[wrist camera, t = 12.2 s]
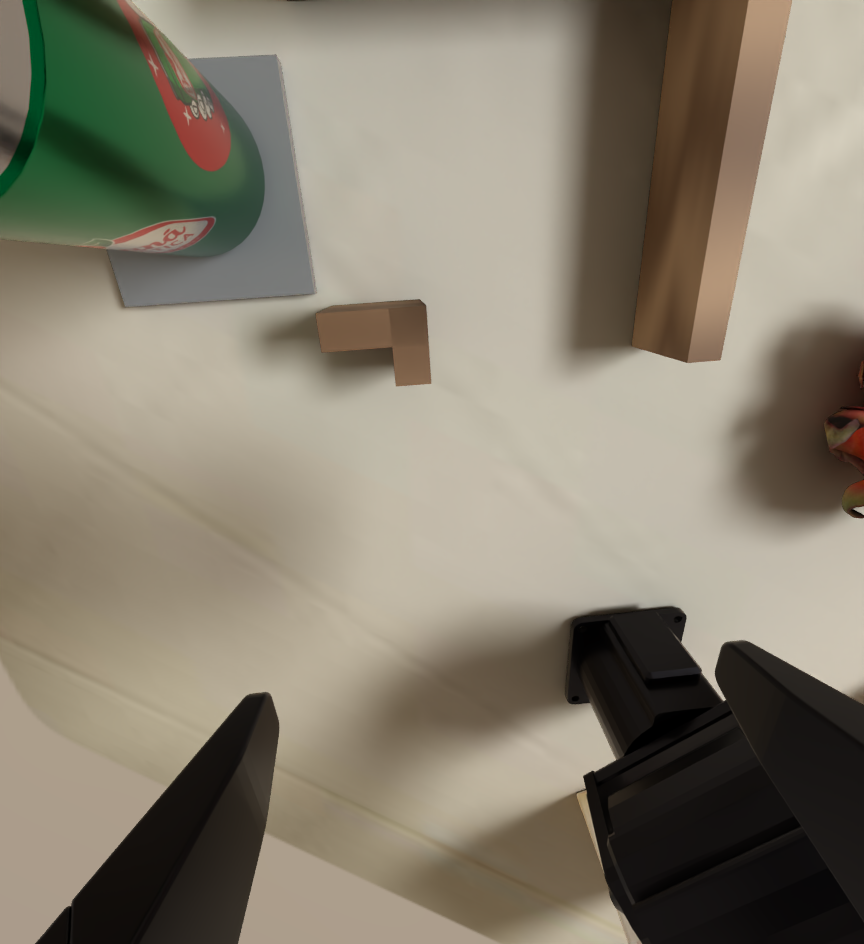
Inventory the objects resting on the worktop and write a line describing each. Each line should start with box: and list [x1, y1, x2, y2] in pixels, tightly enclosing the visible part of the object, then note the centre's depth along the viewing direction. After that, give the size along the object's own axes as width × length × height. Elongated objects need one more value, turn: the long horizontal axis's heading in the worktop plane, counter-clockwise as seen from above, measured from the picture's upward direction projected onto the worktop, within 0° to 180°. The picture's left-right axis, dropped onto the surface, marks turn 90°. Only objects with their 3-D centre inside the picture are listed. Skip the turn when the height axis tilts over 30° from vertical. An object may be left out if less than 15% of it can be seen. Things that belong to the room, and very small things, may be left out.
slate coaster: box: [107, 55, 317, 307], centre depth 16 cm, size 7×7×1 cm
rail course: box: [287, 0, 792, 386], centre depth 15 cm, size 13×14×4 cm
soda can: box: [0, 0, 265, 257], centre depth 10 cm, size 5×5×12 cm
